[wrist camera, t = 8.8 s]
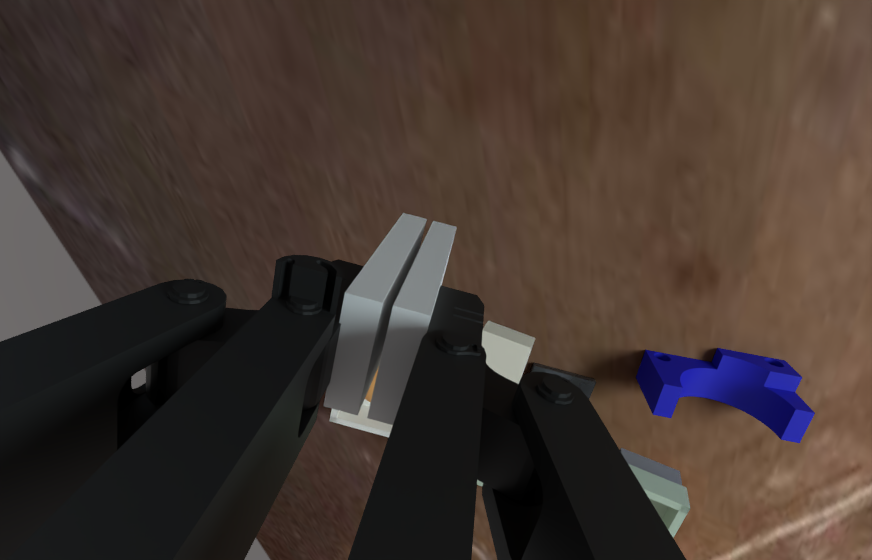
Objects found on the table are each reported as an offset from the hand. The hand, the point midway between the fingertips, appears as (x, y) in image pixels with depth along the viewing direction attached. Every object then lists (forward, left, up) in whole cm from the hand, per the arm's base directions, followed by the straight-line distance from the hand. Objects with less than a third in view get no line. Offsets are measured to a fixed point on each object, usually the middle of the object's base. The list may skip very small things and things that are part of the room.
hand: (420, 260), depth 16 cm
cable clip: (+26, -14, -29) cm, 41 cm away
